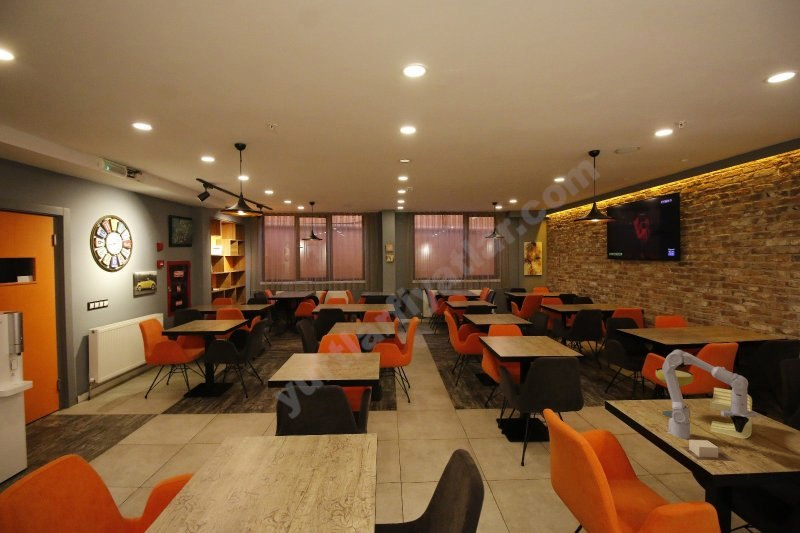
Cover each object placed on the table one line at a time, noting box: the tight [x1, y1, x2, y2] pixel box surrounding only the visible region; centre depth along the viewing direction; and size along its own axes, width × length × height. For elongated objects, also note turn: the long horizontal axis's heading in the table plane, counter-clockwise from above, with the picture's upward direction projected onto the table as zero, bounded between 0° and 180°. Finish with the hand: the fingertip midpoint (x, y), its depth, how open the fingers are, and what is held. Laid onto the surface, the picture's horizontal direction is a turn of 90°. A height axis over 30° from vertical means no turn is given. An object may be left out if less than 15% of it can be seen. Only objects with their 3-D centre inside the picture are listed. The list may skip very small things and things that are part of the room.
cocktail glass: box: [655, 367, 695, 418], centre depth 226 cm, size 18×18×25 cm
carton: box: [688, 439, 719, 458], centre depth 179 cm, size 7×4×8 cm
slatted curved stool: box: [709, 386, 753, 439], centre depth 205 cm, size 30×16×18 cm, turn 138°
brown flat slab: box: [681, 446, 736, 462], centre depth 179 cm, size 12×16×2 cm
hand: (738, 431), depth 181 cm, fingers closed
